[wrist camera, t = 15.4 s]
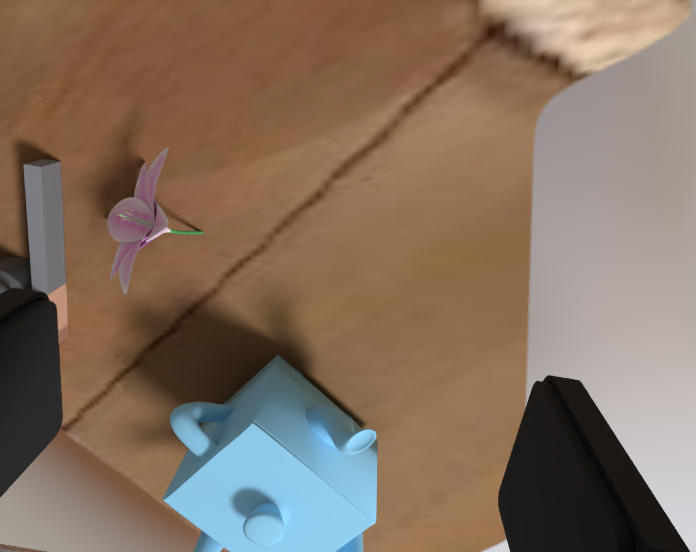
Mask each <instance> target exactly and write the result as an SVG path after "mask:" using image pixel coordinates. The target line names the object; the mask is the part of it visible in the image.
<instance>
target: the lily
mask: <svg viewBox="0 0 696 552" xmlns="http://www.w3.org/2000/svg"><path fill="white" fill-rule="evenodd" d="M167 152H168V148H165V149H164V150H163V151H162V152H161V153H160V154H159V155H158V156H157V158H156V159H155V160H154V162H153V163H152V164H151V166H150V168H149V170H148V172H147V167H146V162H145V163H144V165H143V166H142V169H141V171H140V174H139V177H138V180H137V184H136V188H135V193H134V198H133V197H129V198H125V199H123V200H122V201H120V202H119V203H118V204H117V205H116V206H115V207H114V208H113V209H112V210H111V212H110V214H109V216H108V219H107V226H108V230H109V232H110V234H111V236H112V237H113V239H115V240H116V241H118V242H121V243H120V245H119V248H118V250H117V253H116V256H115V259H114V262H113V266H112V270H111V276H110V280H112V278H113V277H114V276H115V274H116V273H117V272H118V270H119V276H120V283H121V288H122V291H123V293H124V294H125V295H126V293H127V291H128V287H129V282H130V277H131V273H132V268H133V264H134V260H135V257H136V254H137V251H138V250H140V249H141V248H142V247H144V246H145V245H147V244H148V243H150V242H151V241H152V240H154V239H155V238H157V237H158V236H160V235H161V234H163V233H165V232H170V233H176V234H203V231H178V230H173V229H169V228H167V226H168V224H169V221H168V219H167V217H166V215H165V214H164V212H163V210H162V209H161V208H160V206H159V205H158V204H157V202H156V200H155V197H154V193H155V189H156V184H157V181H158V178H159V175H160V172H161V169H162V166H163V163H164V161H165V158H166V155H167Z"/></svg>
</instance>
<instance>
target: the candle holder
mask: <svg viewBox="0 0 696 552" xmlns="http://www.w3.org/2000/svg"><path fill="white" fill-rule="evenodd" d="M10 288H19V289H26V290H32V280H31V266H30V261H28V260H26V259H23V258H21V257H8V256H7V257H5V258H2V259H0V294H1V293H3V292H4V291H6V290H8V289H10Z"/></svg>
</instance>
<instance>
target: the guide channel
mask: <svg viewBox="0 0 696 552" xmlns="http://www.w3.org/2000/svg"><path fill="white" fill-rule="evenodd" d="M23 165H24V179H25V194H26V208H27V222H28V237H29V251H30V266H31V280H32V291H38V292H44V293H45V294H47V295H48V297H49V299H50V301H53V302H54V303H55V304H56V306H57V316H58V336H59V344H60V343H62V342H63V341H64V340H65V339H66V338H68V315H67V293H66V270H65V248H64V225H63V203H62V180H61V162H60V161H54V160H48V159H42V160H38V161H34V162H30V163H26V164H23Z"/></svg>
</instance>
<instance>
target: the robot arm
mask: <svg viewBox="0 0 696 552" xmlns="http://www.w3.org/2000/svg"><path fill="white" fill-rule="evenodd" d="M62 419H63V413H62V393H61V374H60V355H59V336H58V316H57V306H56V304H55V303H54V302H53V301H50V299H49V297H48V295H47V294H45V293H44V292H38V291H32V290H26V289H19V288H10V289H8V290H6V291H4V292H3V293H1V294H0V497H1V496H2V495H3V494H4V493H5V492H6V491H7V490H8V488H9V487H10V486H11V485H12V484H13V483H14V482H15V481H16V479H17V478H18V477H19V476H20V475H21V474H22V473H23V472H24V471H25V470H26V468H27V467H28V466H29V465H30V464H31V463H32V462H33V461H34V460H35V458H36V457H37V456H38V455H39V454H40V453H41V452H42V451H43V450H44V449H45V448H46V446H47V445H48V444H49V443H50V442H51V441H52V440H53V439H54V438H55V436H56V435H57V433H58V432H59V430H60V427H61V424H62ZM498 506H499V511H500V515H501V519H502V523H503V526H504V530H505V534H506V538H507V542H508V545H509V549H510V552H690V551H689V549H688V547H687V546H686V544H685V543H684V541H683V540H682V538H681V537H680V535H679V534H678V532H677V530H676V529H675V527H674V526H673V524H672V523H671V521H670V519H669V518H668V516H667V515H666V513H665V512H664V510H663V509H662V507H661V506H660V504H659V502H658V501H657V500H656V498H655V496H654V495H653V493H652V491H651V490H650V488H649V487H648V485H647V484H646V482H645V481H644V479H643V477H642V476H641V474H640V473H639V471H638V470H637V468H636V467H635V465H634V464H633V462H632V460H631V459H630V457H629V456H628V454H627V453H626V451H625V449H624V448H623V446H622V445H621V443H620V442H619V440H618V439H617V437H616V436H615V434H614V432H613V431H612V429H611V428H610V426H609V425H608V423H607V421H606V420H605V418H604V417H603V415H602V414H601V412H600V411H599V409H598V408H597V406H596V404H595V403H594V401H593V400H592V398H591V397H590V395H589V394H588V392H587V390H586V389H585V387H584V386H583V384H582V383H581V382H580V381H579V380H574V379H569V378H562V377H556V376H550V375H549V376H547V377H546V378H545V379H544V380H543V382H541V381H536V382H535V383H534V385H533V387H532V390H531V394H530V396H529V399H528V403H527V406H526V409H525V412H524V415H523V418H522V421H521V424H520V427H519V431H518V434H517V437H516V440H515V443H514V446H513V449H512V452H511V455H510V458H509V462H508V465H507V468H506V471H505V474H504V477H503V480H502V483H501V486H500V490H499V496H498ZM0 552H47V551H41V550H34V549H29V548H22V547H16V546H10V545H4V544H0Z"/></svg>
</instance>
